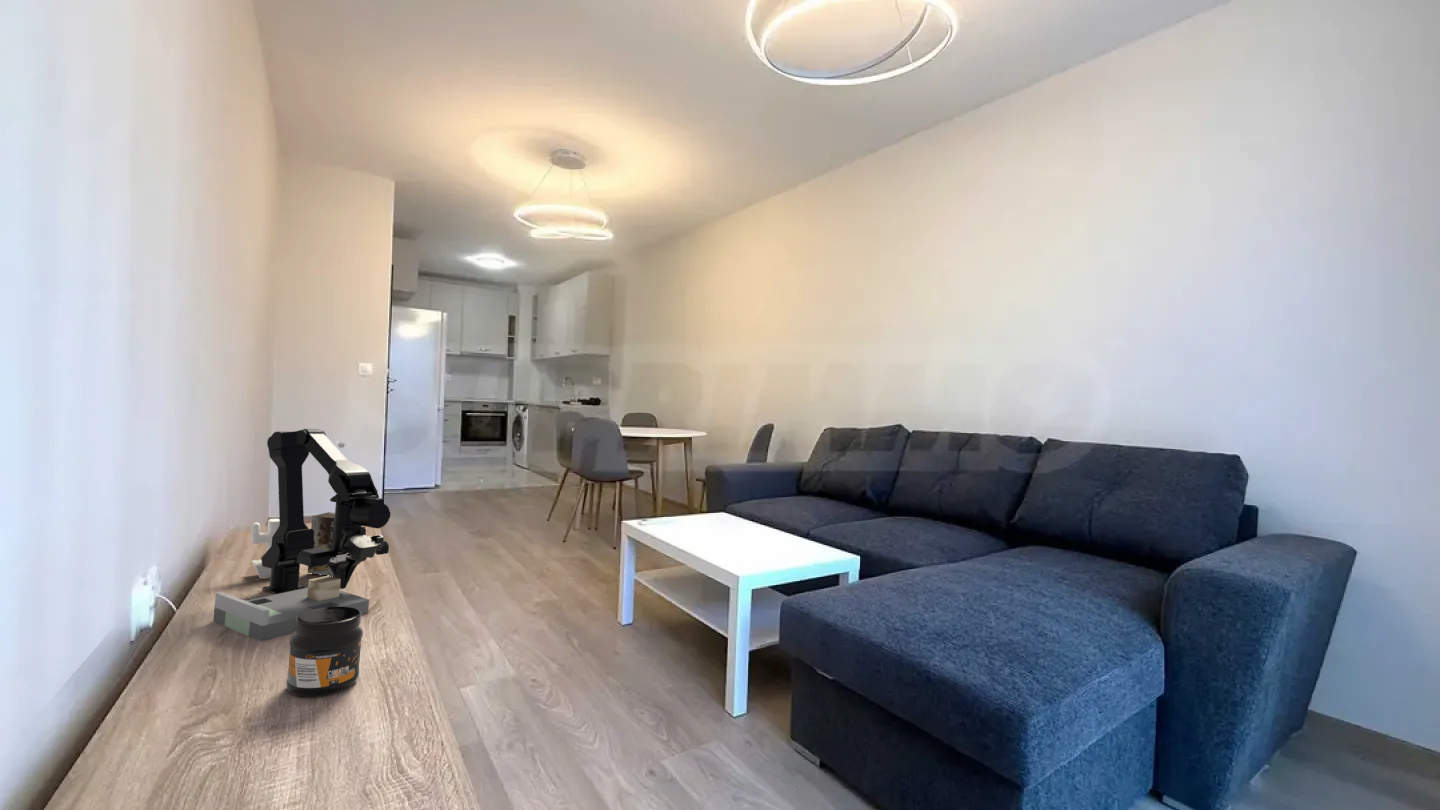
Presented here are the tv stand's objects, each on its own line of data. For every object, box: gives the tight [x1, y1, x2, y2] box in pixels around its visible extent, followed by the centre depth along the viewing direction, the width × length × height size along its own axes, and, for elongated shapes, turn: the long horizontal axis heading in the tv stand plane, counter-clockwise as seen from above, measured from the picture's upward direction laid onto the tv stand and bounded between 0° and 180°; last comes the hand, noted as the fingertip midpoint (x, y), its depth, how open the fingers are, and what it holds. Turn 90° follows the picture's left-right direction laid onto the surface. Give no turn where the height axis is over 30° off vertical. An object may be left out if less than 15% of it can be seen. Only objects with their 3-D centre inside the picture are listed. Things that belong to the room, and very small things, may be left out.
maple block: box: [307, 576, 341, 601], centre depth 137 cm, size 4×4×4 cm
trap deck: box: [212, 587, 370, 642], centre depth 132 cm, size 18×22×6 cm
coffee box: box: [307, 511, 343, 576], centre depth 165 cm, size 9×6×16 cm
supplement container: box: [286, 607, 364, 698], centre depth 103 cm, size 10×10×12 cm
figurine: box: [250, 518, 280, 580], centre depth 159 cm, size 7×9×15 cm
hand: (342, 588), depth 141 cm, fingers closed
